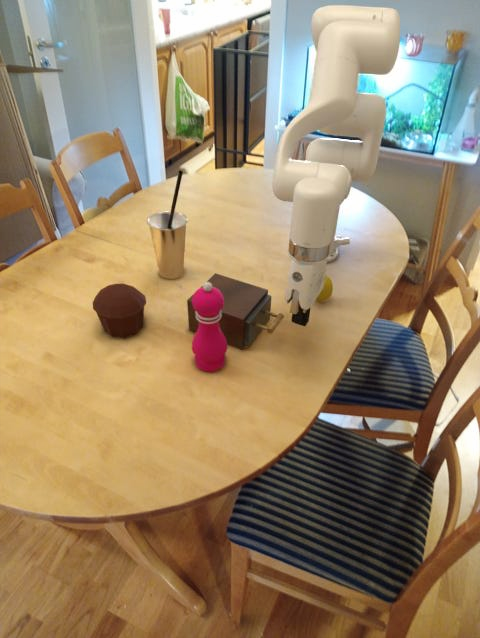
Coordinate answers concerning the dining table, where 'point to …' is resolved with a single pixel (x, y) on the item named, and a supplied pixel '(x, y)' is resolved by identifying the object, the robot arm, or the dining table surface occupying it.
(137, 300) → the muffin
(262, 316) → the drawer
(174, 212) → the metal cup with straw
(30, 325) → the dining table surface
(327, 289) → the lemon
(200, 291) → the pepper mill
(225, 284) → the cabinet
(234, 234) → the dining table surface
